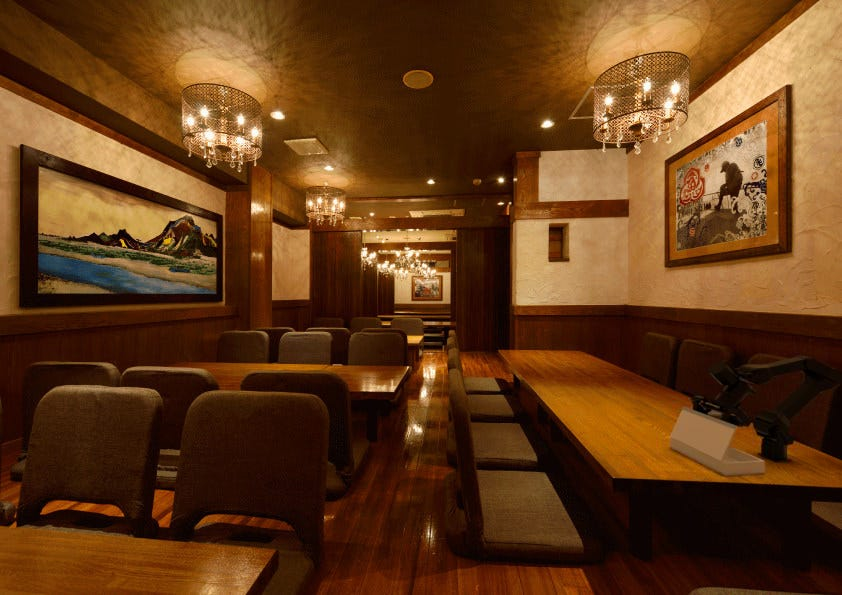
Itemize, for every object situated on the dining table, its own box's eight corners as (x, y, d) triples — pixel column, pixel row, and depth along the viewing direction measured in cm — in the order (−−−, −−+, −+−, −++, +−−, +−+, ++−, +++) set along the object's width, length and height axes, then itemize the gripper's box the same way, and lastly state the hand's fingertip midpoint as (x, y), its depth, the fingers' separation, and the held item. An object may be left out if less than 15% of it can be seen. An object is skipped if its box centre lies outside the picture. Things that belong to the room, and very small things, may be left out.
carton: (704, 446, 142) (704, 435, 142) (764, 473, 120) (765, 461, 120) (670, 447, 140) (670, 437, 140) (724, 476, 118) (724, 463, 118)
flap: (684, 407, 140) (683, 406, 140) (737, 426, 119) (736, 425, 119) (671, 437, 139) (669, 436, 139) (722, 461, 119) (720, 460, 119)
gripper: (775, 419, 123) (744, 455, 121) (722, 403, 141) (695, 434, 140) (753, 395, 122) (722, 432, 120) (703, 382, 140) (675, 413, 139)
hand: (703, 428), depth 130 cm, fingers open, 9 cm apart
